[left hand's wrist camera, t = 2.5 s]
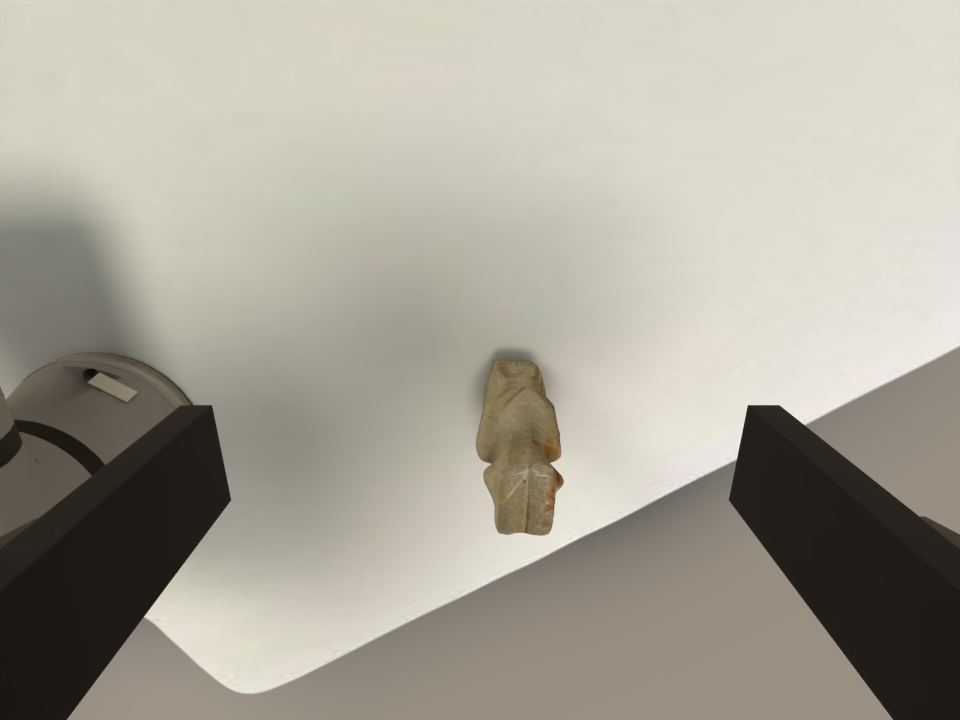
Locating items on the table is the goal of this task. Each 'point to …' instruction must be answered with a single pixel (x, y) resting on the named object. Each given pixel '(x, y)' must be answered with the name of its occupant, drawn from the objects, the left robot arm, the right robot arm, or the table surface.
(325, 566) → the table surface
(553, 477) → the sculpture
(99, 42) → the table surface
